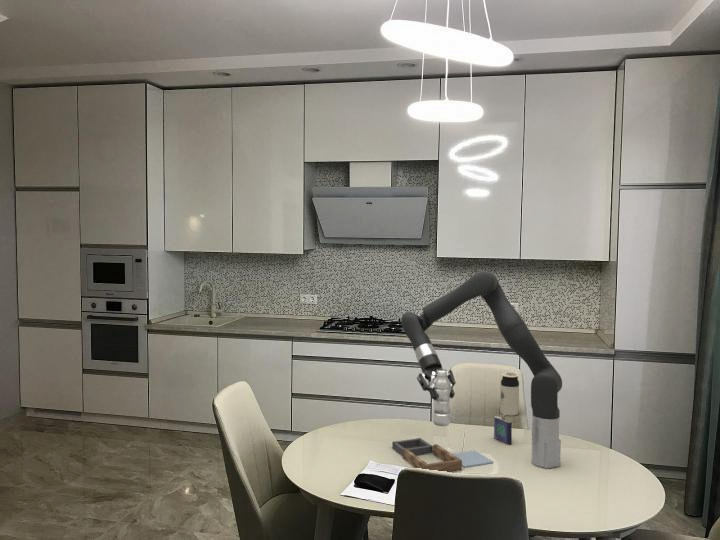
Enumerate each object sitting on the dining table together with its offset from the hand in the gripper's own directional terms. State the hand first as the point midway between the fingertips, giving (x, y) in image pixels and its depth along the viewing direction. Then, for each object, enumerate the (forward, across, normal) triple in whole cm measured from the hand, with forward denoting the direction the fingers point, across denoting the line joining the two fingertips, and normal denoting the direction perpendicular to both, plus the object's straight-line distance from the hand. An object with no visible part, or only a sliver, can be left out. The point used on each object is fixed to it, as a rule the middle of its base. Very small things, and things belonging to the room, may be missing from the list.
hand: (444, 398), depth 216 cm
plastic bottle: (+6, 0, +9) cm, 11 cm away
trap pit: (+5, -4, +28) cm, 29 cm away
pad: (+17, +10, +17) cm, 26 cm away
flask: (+9, +34, +25) cm, 43 cm away
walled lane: (+16, -5, +18) cm, 24 cm away
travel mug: (-12, +59, +46) cm, 76 cm away
